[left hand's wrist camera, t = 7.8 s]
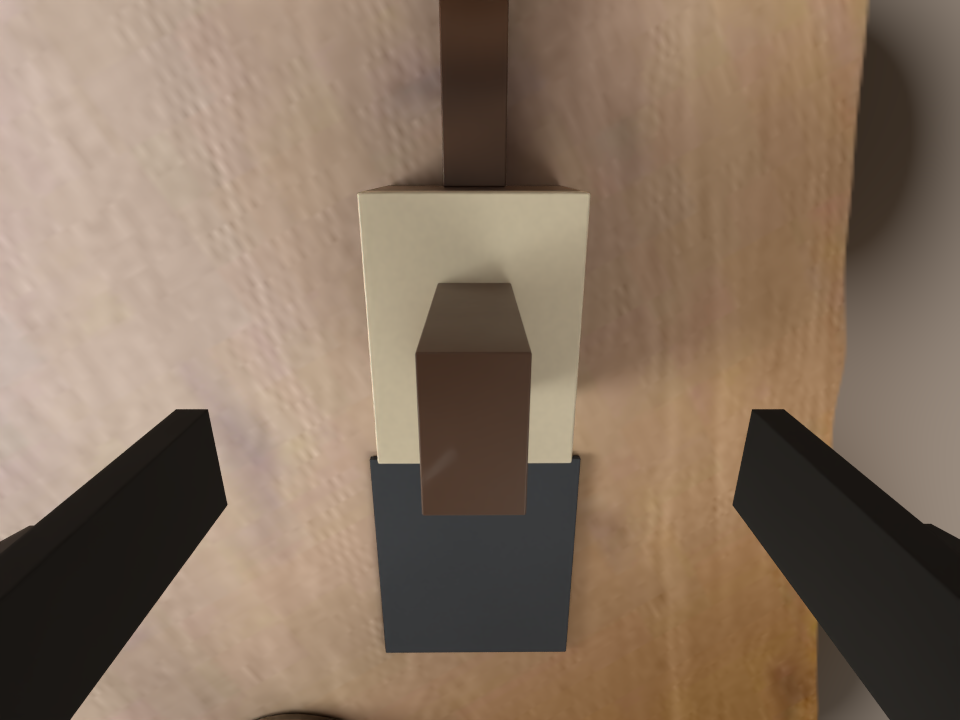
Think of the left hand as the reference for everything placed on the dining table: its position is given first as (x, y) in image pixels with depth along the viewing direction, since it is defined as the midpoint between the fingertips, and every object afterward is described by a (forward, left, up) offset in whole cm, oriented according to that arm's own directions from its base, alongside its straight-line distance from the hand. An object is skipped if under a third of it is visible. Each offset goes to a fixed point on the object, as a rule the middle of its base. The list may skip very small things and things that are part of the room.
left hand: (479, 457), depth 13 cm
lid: (0, 0, -11) cm, 11 cm away
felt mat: (-18, 0, -17) cm, 25 cm away
